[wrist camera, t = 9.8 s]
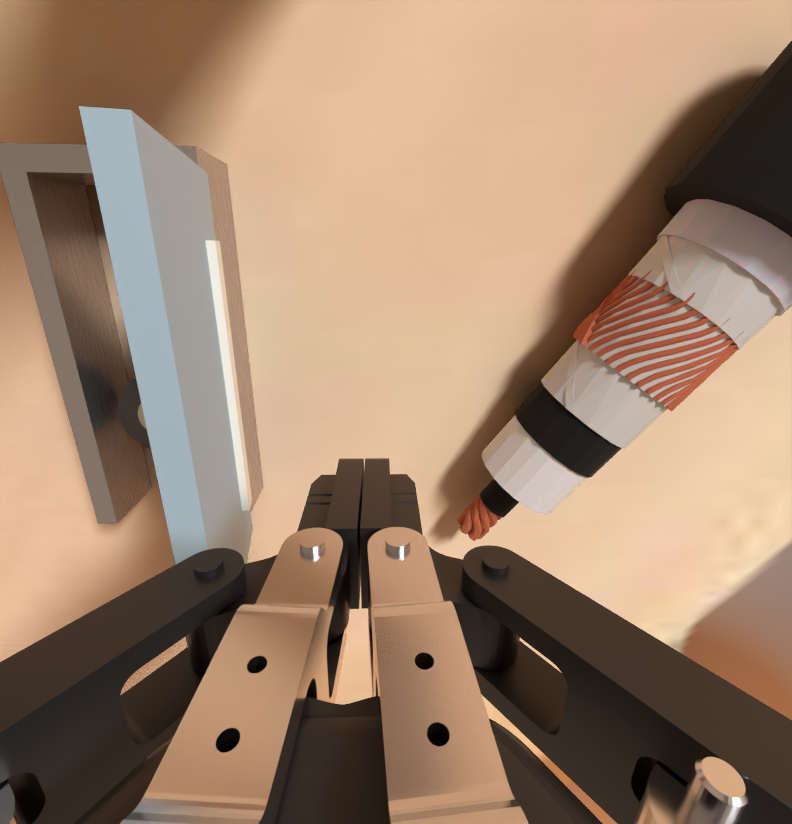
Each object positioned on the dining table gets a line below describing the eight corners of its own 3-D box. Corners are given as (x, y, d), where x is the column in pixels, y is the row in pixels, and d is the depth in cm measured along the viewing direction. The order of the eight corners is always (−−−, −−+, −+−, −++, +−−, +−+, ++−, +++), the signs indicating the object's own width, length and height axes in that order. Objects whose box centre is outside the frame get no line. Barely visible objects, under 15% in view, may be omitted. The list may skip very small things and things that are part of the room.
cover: (79, 106, 11) (147, 110, 11) (183, 174, 21) (218, 175, 21) (198, 674, 18) (238, 667, 18) (234, 524, 28) (259, 521, 28)
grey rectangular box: (58, 160, 24) (-8, 142, 20) (226, 164, 25) (195, 146, 20) (134, 488, 32) (98, 523, 28) (263, 486, 32) (245, 522, 28)
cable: (439, 464, 37) (391, 504, 28) (789, 54, 24) (908, -114, 15) (531, 548, 35) (511, 621, 26) (967, 145, 22) (1227, 12, 13)
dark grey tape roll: (142, 358, 28) (108, 374, 25) (219, 363, 29) (196, 379, 25) (151, 427, 30) (121, 451, 27) (224, 432, 30) (203, 455, 27)
